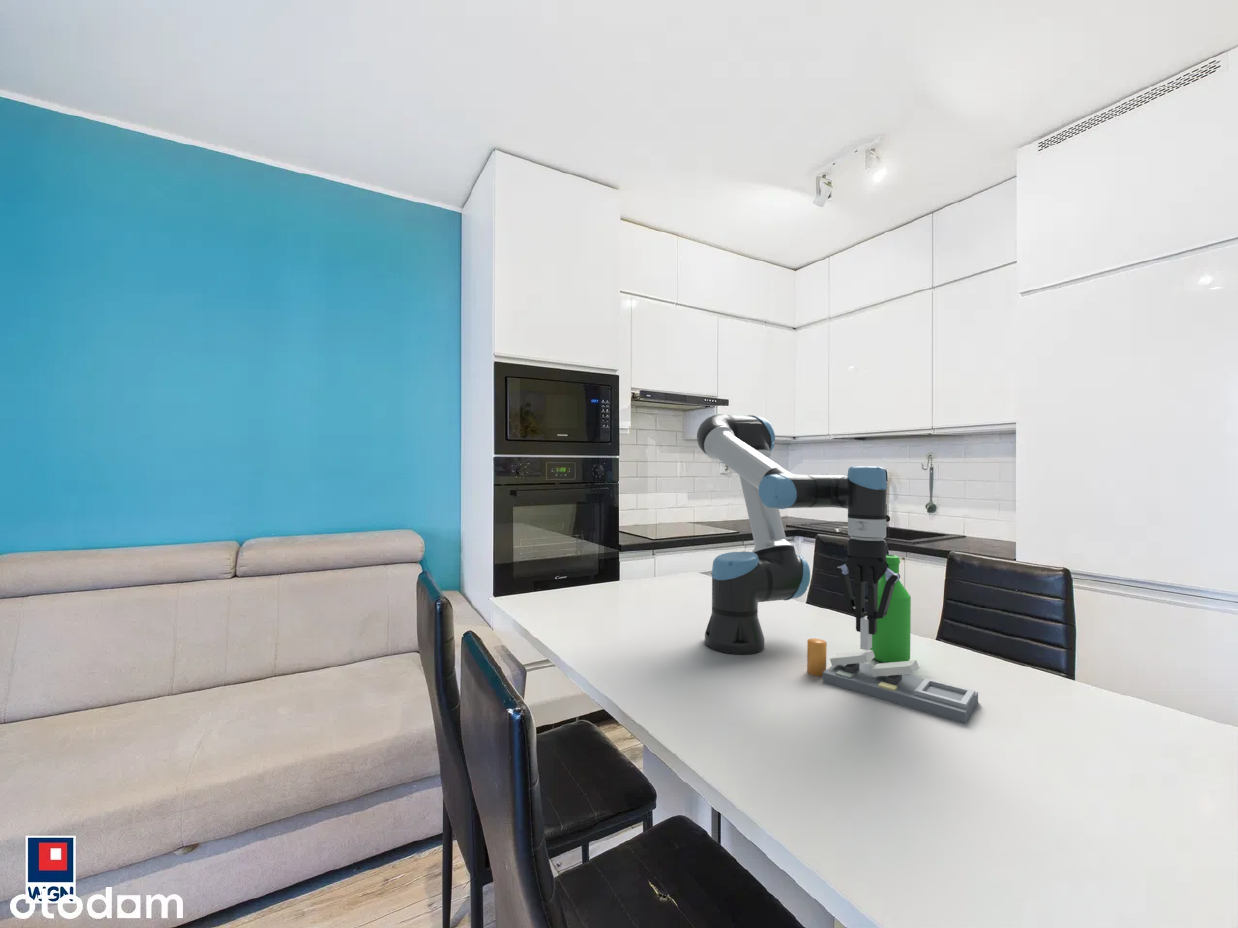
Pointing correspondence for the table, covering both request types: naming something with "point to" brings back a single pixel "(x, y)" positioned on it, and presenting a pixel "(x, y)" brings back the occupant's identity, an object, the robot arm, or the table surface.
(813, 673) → the pin
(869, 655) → the block
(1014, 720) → the table surface
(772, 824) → the table surface
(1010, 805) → the table surface
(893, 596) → the bottle
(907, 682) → the panel
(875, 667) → the breaker
